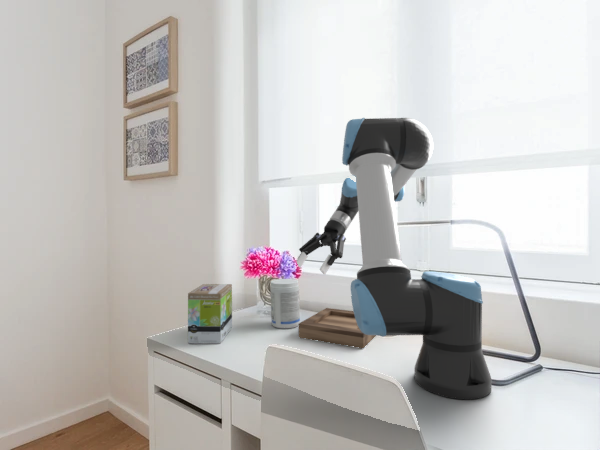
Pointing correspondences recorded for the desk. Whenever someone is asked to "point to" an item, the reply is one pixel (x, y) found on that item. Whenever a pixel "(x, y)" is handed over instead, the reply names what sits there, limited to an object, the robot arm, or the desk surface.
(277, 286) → the supplement tub
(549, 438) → the desk surface
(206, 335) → the tea box
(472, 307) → the robot arm
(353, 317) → the walnut base
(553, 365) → the desk surface
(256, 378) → the desk surface
